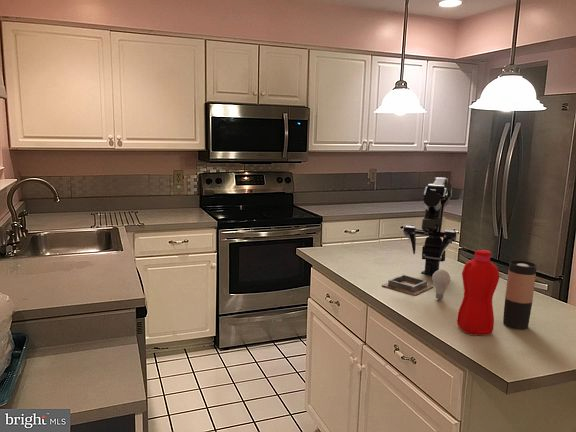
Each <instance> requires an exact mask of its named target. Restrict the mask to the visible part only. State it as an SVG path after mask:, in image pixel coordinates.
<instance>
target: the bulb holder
mask: <svg viewBox="0 0 576 432" xmlns="http://www.w3.org/2000/svg"><path fill="white" fill-rule="evenodd" d="M381 287H383V288H387V289H389V290H393V291H397V292H400V293H403V294H407V295H410V296H414V297H415V296H418V295H420V294H423V293H424V292H426V291H428V290H431V289H432V288H434V286H433V285H431V284H428V280H425V279H421V278H417V277H413V276H410V275H405V274H401V275H398V276H395V277H393V278H390V279H389V280H388V281H387V282H386V283H383V284H382V285H381Z"/></svg>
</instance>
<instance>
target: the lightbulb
mask: <svg viewBox="0 0 576 432" xmlns="http://www.w3.org/2000/svg"><path fill="white" fill-rule="evenodd" d="M431 280H432V283H433V285H434V289H435V291H434V292H435V298H436V299H437V301H441V300H443V299H444V295H445V293H446V289H447V287H448V285H449V284H450V283H451V276H450V273H449V272H448V271H447V270H445V269H439V270H437V271H436V272H434V274H433V276H432V277H431Z"/></svg>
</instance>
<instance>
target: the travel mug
mask: <svg viewBox="0 0 576 432" xmlns="http://www.w3.org/2000/svg"><path fill="white" fill-rule="evenodd" d="M508 266H509V267H508V273H507V281H506V290H505V295H504V308H503V320H502V321H503V322H502V324H503V325H504V326H505V327H507V328H509V329H513V330H517V331H524V330H527V329H528V328H529V324H530V317H531V311H532V306H533V301H534V299H533V298H534V290H535V283H536V275H537V267H538V266H537V264H536V263H534V262H530V261H528V260H527V261H526V260H520V259H517V260H516V259H514V260H511V261H509V264H508Z"/></svg>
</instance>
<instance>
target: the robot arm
mask: <svg viewBox="0 0 576 432" xmlns="http://www.w3.org/2000/svg"><path fill="white" fill-rule="evenodd" d="M452 194H453V185H452V184H451V183H450V182H449V179H448V178H446V177H434V181H433V182H432V183H428V184H427V185H426V186H425V188H424V192H423V203H424V207H425V209H424V218H422V223H421V229H417V228H416V226H413V225H405V226H404V227H403V231H402V232H403V235H404V236H405V237H407V239H410V243H411V247H412V249H411V250H412V253H413V255H416V243H417V242H416V241H417V237H416V235H419V236H427V237H426V238H425V240H424V241H425V242H424V244H423V245H422V248H421V249H422V250H421V259H422V260H425V262H424V263H425V264H424V270H422V271H420V273H421V274H424V275H426V276H430V277H431V276H433V274H434V272H436V271H437V270H440V263H441V262H442V263H443V262H445V261H446V248H447V247H448V246H449V245H450V244H453V243H456V242H457V231H456V230H454V229H453V230H452V229H451V230H450V229H445V231H442V226H443V221H444V220H443V219H444V212H445V208H446V206H447V205H448V204H449V203H450V199H451V198H452Z"/></svg>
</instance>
